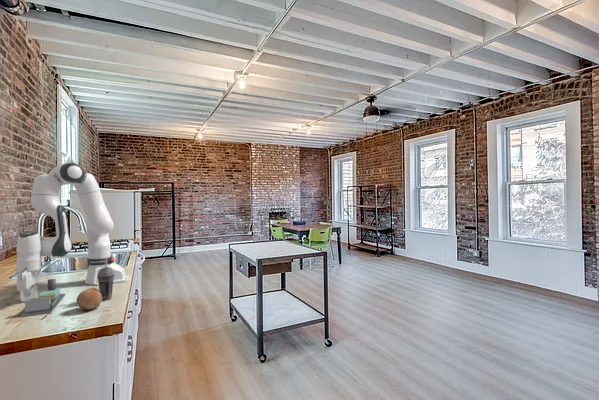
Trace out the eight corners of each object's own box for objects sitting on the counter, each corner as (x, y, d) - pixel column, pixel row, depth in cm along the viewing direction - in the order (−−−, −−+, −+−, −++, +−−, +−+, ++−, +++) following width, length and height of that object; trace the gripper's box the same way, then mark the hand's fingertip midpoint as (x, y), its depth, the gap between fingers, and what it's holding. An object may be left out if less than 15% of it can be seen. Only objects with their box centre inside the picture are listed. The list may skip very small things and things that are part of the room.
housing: (37, 297, 153) (37, 283, 152) (34, 300, 148) (34, 285, 148) (24, 299, 150) (24, 284, 150) (20, 302, 146) (20, 286, 146)
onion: (94, 312, 142) (101, 290, 146) (101, 311, 136) (108, 288, 141) (70, 310, 136) (78, 286, 140) (76, 309, 130) (85, 284, 134)
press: (65, 295, 156) (65, 283, 156) (50, 313, 133) (50, 299, 133) (39, 298, 152) (39, 286, 152) (20, 317, 129) (20, 302, 128)
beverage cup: (96, 302, 146) (96, 260, 146) (97, 298, 153) (98, 257, 153) (114, 300, 150) (114, 259, 149) (115, 296, 156) (115, 256, 156)
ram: (60, 294, 155) (60, 278, 155) (54, 300, 146) (54, 283, 146) (45, 295, 153) (45, 279, 153) (38, 302, 143) (38, 285, 143)
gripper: (30, 270, 141) (30, 300, 141) (43, 261, 159) (43, 288, 160) (11, 271, 138) (12, 302, 138) (27, 262, 157) (27, 290, 157)
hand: (28, 295), depth 149 cm, fingers closed on housing, 5 cm apart
